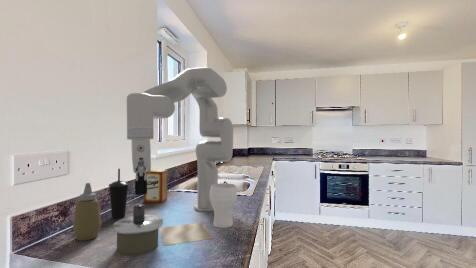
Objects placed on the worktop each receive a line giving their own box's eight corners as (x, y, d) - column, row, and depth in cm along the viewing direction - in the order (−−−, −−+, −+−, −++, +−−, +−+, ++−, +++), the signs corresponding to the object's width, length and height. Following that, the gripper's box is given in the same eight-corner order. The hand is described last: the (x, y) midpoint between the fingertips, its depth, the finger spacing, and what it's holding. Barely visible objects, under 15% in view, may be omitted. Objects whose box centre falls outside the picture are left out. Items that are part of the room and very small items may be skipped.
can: (140, 260, 69) (140, 235, 69) (106, 253, 73) (106, 229, 73) (166, 243, 80) (166, 221, 80) (135, 238, 84) (136, 217, 84)
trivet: (202, 223, 98) (202, 222, 98) (214, 239, 83) (214, 238, 83) (159, 228, 92) (159, 227, 92) (163, 246, 77) (163, 245, 77)
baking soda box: (167, 199, 134) (167, 169, 134) (161, 202, 128) (161, 171, 128) (150, 198, 136) (150, 168, 136) (144, 201, 129) (144, 170, 129)
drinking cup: (120, 220, 101) (121, 170, 101) (103, 219, 102) (104, 169, 102) (132, 214, 108) (132, 167, 108) (116, 213, 110) (117, 167, 110)
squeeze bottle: (81, 233, 88) (81, 181, 88) (105, 232, 88) (105, 180, 88) (67, 243, 79) (68, 185, 80) (94, 242, 80) (94, 185, 80)
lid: (161, 216, 86) (161, 198, 86) (164, 230, 73) (165, 209, 73) (115, 220, 81) (115, 201, 81) (110, 237, 68) (110, 214, 68)
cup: (240, 222, 100) (241, 184, 100) (231, 231, 90) (231, 189, 90) (216, 219, 104) (216, 182, 104) (204, 227, 93) (204, 187, 94)
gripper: (155, 135, 70) (155, 196, 71) (152, 133, 86) (152, 183, 87) (125, 135, 68) (126, 198, 68) (128, 134, 84) (128, 185, 84)
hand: (141, 190), depth 77 cm, fingers open, 9 cm apart
